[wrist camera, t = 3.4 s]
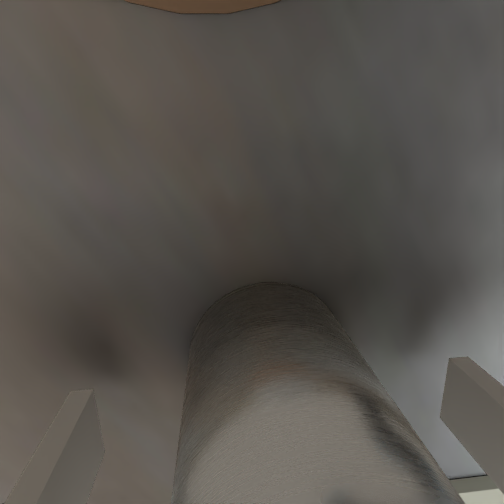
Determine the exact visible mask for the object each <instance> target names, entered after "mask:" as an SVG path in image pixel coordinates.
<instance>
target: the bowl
mask: <svg viewBox="0 0 504 504" xmlns="http://www.w3.org/2000/svg"><path fill="white" fill-rule="evenodd" d="M125 1H127V2H131V3H135V4H140V5H144V6H149V7H153V8H158V9H162V10H167V11H171V12H176V13H233V12H237V11H241V10H246V9H250V8H254V7H259V6H263V5H267V4H272V3H276V2H278V1H280V0H125Z"/></svg>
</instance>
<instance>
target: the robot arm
mask: <svg viewBox="0 0 504 504" xmlns="http://www.w3.org/2000/svg"><path fill="white" fill-rule="evenodd" d="M440 418H441V420H442V421H443V422H444V423H445V424H446V426H447V427H448V428H449V429H450V430H451V432H452V433H453V434H454V435H455V436H456V438H457V439H458V440H459V441H460V442H461V444H462V445H463V446H464V447H465V448H466V450H467V451H468V452H469V453H470V455H471V456H472V457H473V458H474V459H475V461H476V462H477V463H478V464H479V465H480V467H481V468H482V469H483V470H484V471H485V473H486V474H487V475H488V476H489V477H490V479H491V480H492V481H493V482H494V483H495V485H496V486H497V487H498V488H499V489H500V491H501V492H502V493H503V494H504V386H503V385H501V384H500V383H499V382H498V381H497V380H495V379H494V378H493V377H492V376H491V375H489V374H488V373H487V372H486V371H485V370H483V369H482V368H481V367H480V366H479V365H477V364H476V363H475V362H474V361H473V360H471V359H470V358H469V357H457V358H449V362H448V368H447V374H446V381H445V387H444V394H443V400H442V406H441V413H440ZM104 453H105V449H104V443H103V438H102V433H101V427H100V422H99V417H98V411H97V406H96V401H95V395H94V390H93V389H88V390H77V391H70V393H69V394H68V396H67V398H66V399H65V401H64V403H63V405H62V406H61V408H60V410H59V411H58V413H57V415H56V416H55V418H54V420H53V422H52V423H51V425H50V427H49V428H48V430H47V432H46V433H45V435H44V437H43V439H42V440H41V442H40V444H39V445H38V447H37V449H36V450H35V452H34V454H33V456H32V457H31V459H30V461H29V462H28V464H27V466H26V468H25V469H24V471H23V473H22V474H21V476H20V478H19V479H18V481H17V483H16V485H15V486H14V488H13V490H12V491H11V493H10V495H9V496H8V498H7V500H6V502H5V503H4V504H86V503H87V501H88V498H89V495H90V492H91V489H92V487H93V484H94V481H95V478H96V476H97V473H98V470H99V467H100V464H101V462H102V459H103V456H104Z"/></svg>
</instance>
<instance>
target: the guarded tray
mask: <svg viewBox="0 0 504 504" xmlns="http://www.w3.org/2000/svg"><path fill="white" fill-rule="evenodd" d="M449 481H450V482H451V484H452V485H453V487H454V488H455V489H456V491H457V492H458V494H459V495H460V497H461V498H462V499H463V501H464V502H465V504H504V494H503V493H502V492H501V491H500V489H499V488H498V487H497V486H496V485H495V483H494V482H493V481H492V480H491V479H490V477H489V476H479V477H471V478H463V479H454V480H449Z"/></svg>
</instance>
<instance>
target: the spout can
mask: <svg viewBox="0 0 504 504" xmlns="http://www.w3.org/2000/svg"><path fill="white" fill-rule="evenodd" d="M171 504H465V502H464V501H463V499H462V498H461V497H460V495H459V494H458V492H457V491H456V489H455V488H454V487H453V485H452V484H451V482H450V481H449V479H448V478H447V477H446V475H445V474H444V472H443V471H442V469H441V468H440V467H439V465H438V464H437V462H436V461H435V459H434V458H433V457H432V455H431V454H430V452H429V451H428V449H427V448H426V447H425V445H424V444H423V442H422V441H421V439H420V438H419V437H418V435H417V434H416V432H415V431H414V429H413V428H412V427H411V425H410V424H409V422H408V421H407V419H406V418H405V417H404V415H403V414H402V412H401V411H400V409H399V408H398V407H397V405H396V404H395V402H394V401H393V399H392V398H391V397H390V395H389V394H388V392H387V391H386V389H385V388H384V387H383V385H382V384H381V382H380V381H379V379H378V378H377V377H376V375H375V374H374V372H373V371H372V369H371V368H370V367H369V365H368V364H367V362H366V361H365V359H364V358H363V357H362V355H361V354H360V352H359V351H358V349H357V348H356V347H355V345H354V344H353V342H352V341H351V339H350V338H349V337H348V335H347V334H346V332H345V331H344V329H343V328H342V327H341V325H340V324H339V322H338V321H337V319H336V318H335V317H334V315H333V314H332V312H331V311H330V310H329V308H328V307H327V306H326V305H325V304H324V303H323V302H322V301H321V300H320V299H319V298H318V297H316V296H315V295H314V294H312V293H310V292H308V291H307V290H305V289H302V288H300V287H297V286H294V285H290V284H285V283H277V282H265V283H257V284H252V285H248V286H244V287H242V288H239V289H237V290H234V291H232V292H231V293H229V294H227V295H225V296H224V297H222V298H221V299H219V300H218V301H217V302H216V303H214V304H213V305H212V306H211V307H210V308H209V309H208V310H207V312H206V313H205V314H204V315H203V316H202V318H201V320H200V321H199V323H198V324H197V327H196V329H195V331H194V334H193V337H192V340H191V346H190V354H189V362H188V370H187V378H186V386H185V394H184V402H183V411H182V419H181V427H180V435H179V443H178V451H177V459H176V468H175V476H174V484H173V492H172V500H171Z"/></svg>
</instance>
